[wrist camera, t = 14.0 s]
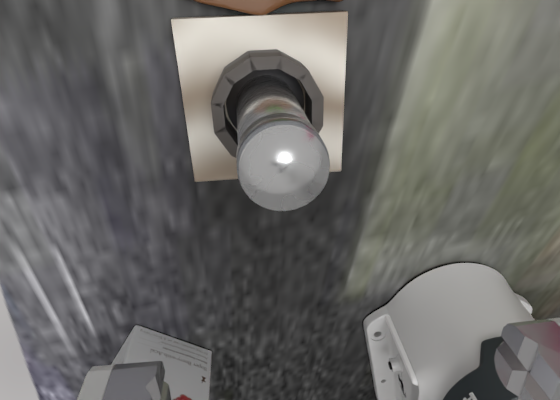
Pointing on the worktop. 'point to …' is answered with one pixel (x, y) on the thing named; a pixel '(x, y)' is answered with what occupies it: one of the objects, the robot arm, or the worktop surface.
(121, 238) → the worktop surface
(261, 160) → the frosted cylinder in socket
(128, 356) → the supplement box
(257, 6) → the plant
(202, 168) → the duct board
